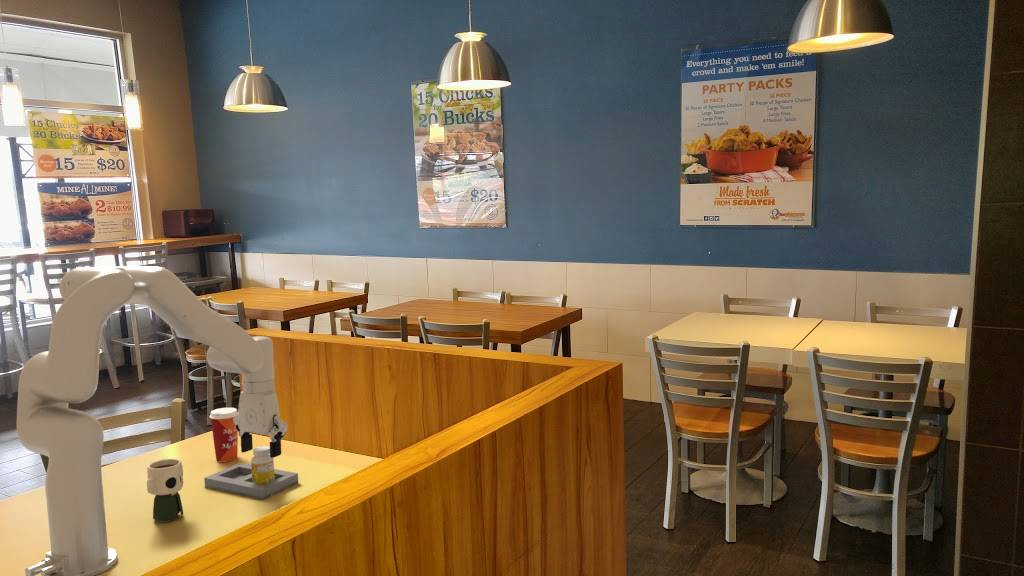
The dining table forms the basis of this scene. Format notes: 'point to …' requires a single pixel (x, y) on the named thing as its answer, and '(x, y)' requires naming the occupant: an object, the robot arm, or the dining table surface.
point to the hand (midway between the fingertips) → (261, 453)
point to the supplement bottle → (262, 466)
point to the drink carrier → (249, 482)
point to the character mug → (165, 488)
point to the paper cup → (224, 433)
